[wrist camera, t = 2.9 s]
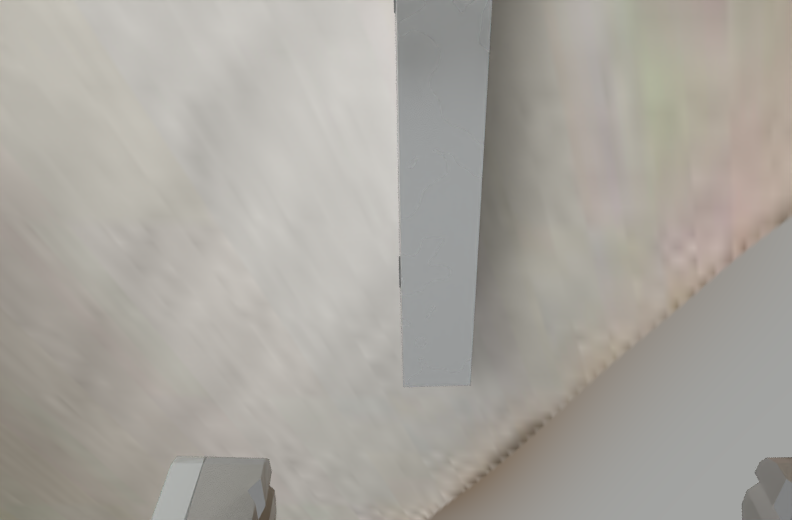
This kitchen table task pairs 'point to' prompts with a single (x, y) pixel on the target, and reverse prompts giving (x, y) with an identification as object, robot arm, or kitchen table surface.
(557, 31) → the kitchen table surface
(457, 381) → the long grey beam
